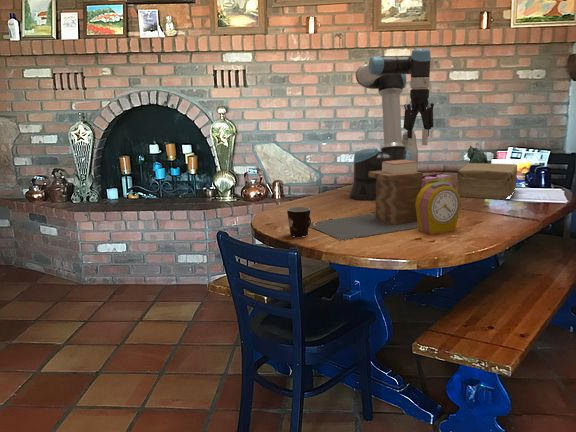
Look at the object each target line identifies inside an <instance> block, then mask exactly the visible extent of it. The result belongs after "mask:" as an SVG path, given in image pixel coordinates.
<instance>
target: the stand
mask: <svg viewBox="0 0 576 432" xmlns="http://www.w3.org/2000/svg"><path fill="white" fill-rule="evenodd" d="M423 176H424V175H423V172H420V171H417V172H410V173H401V174H391V173H386V172H382V170H379V171H369V172H368V177H372V178H376V199H375V213H376V218H378V219H381V220H384V221H386V222H389V223H392V224H395V225H400V224H406V223H412V222H417V214H416V206H415V203H416V198H417V195H418V194H419V192H420V190H421V189H422V178H423Z"/></svg>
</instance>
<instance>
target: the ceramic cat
mask: <svg viewBox="0 0 576 432" xmlns="http://www.w3.org/2000/svg"><path fill="white" fill-rule="evenodd" d="M475 146H477V147H479V143H478V142H477V143H476V144H475ZM477 147H473V146H472V145H470V146H469V148H468V149H467V154H466V155H467V158H468V159H469V162H468V163H486V164H489V163H488V160H489V159H488V157H487V155H486V153H485V151H483V150H481V149H480V150H479V148H477Z"/></svg>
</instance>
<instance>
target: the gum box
mask: <svg viewBox="0 0 576 432" xmlns="http://www.w3.org/2000/svg"><path fill="white" fill-rule="evenodd" d="M437 182H443V183H448V184H450V187H452V188H454V175H453V174H451V175H449V174H445V173H443V172H441V173H440V172H439V173H433V174H427V175H423V178H422V188H423V187H424V186H426V185H428V184H431V183H437Z"/></svg>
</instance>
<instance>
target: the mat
mask: <svg viewBox="0 0 576 432" xmlns="http://www.w3.org/2000/svg"><path fill="white" fill-rule="evenodd" d="M311 222H312V223H311V224H310V226H311V227H313V228H315V229H318V230H320V231H322V232H324V233H327V234H329V235H331V236H333V237H332V238H334V237H336V238H338V239H340V240H339V241H341V240H344V241H346V240H345V239H350V240H354V239H353V238H356V239H361V237H362V238H367V237H373V236H374V237H375V236H379V235H384V234H390V233H397V232H402V231H403V232H404V231H410V230H415V229H418V223H417V222H412V223H406V224H400V225H395V224H392V223H389V222H386V221H384V220H381V219H378V218H376V212H375V213H368V214H360V215H354V216H347V217H340V218H333V219H327V220H320V221H316V222H317V223H315V225H316V226H314V225H313V223H314V222H315V221H311ZM311 227H310V228H311ZM313 228H312V229H313ZM315 229H314V230H315ZM318 230H317V231H318ZM320 231H319V232H320ZM322 232H321V233H322ZM324 233H323V234H324ZM327 234H326V235H327ZM329 235H328V236H329ZM331 236H330V237H331ZM336 238H335V239H336ZM338 239H337V240H338Z"/></svg>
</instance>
